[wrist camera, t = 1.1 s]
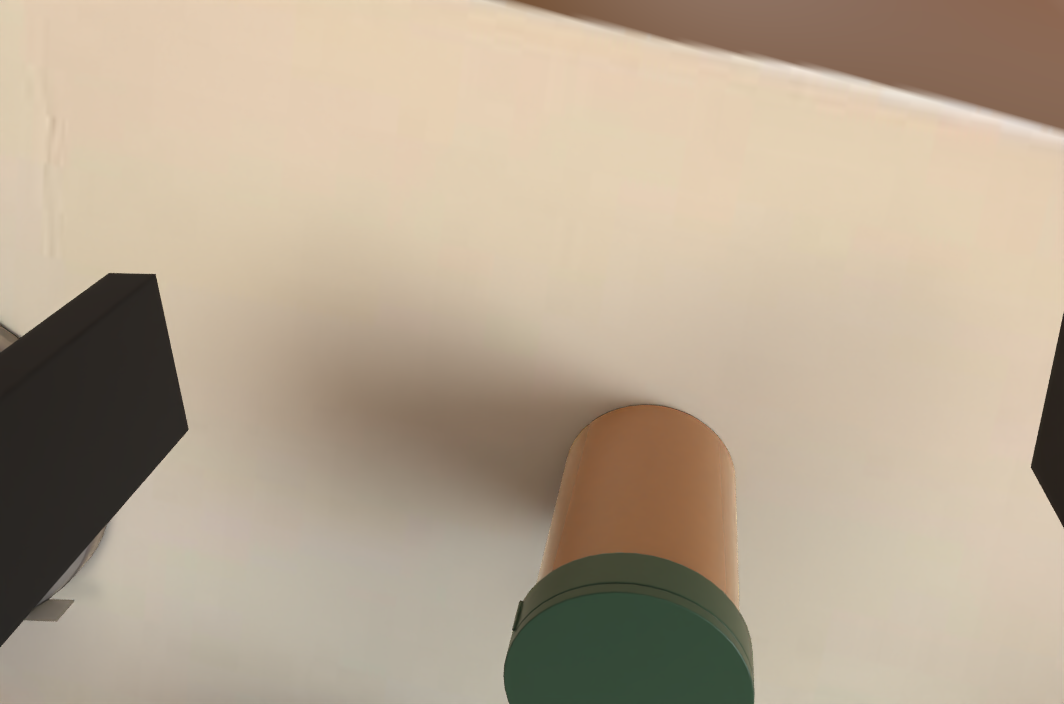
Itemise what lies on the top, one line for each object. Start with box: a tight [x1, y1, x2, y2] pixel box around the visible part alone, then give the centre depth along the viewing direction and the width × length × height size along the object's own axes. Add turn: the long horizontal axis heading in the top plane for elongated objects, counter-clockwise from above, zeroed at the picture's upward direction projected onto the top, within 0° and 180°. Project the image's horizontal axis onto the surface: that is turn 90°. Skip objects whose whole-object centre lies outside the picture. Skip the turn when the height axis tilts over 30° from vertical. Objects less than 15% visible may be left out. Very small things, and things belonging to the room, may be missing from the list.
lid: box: [504, 552, 754, 704], centre depth 30 cm, size 7×7×2 cm
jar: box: [536, 405, 739, 611], centre depth 34 cm, size 6×6×10 cm
